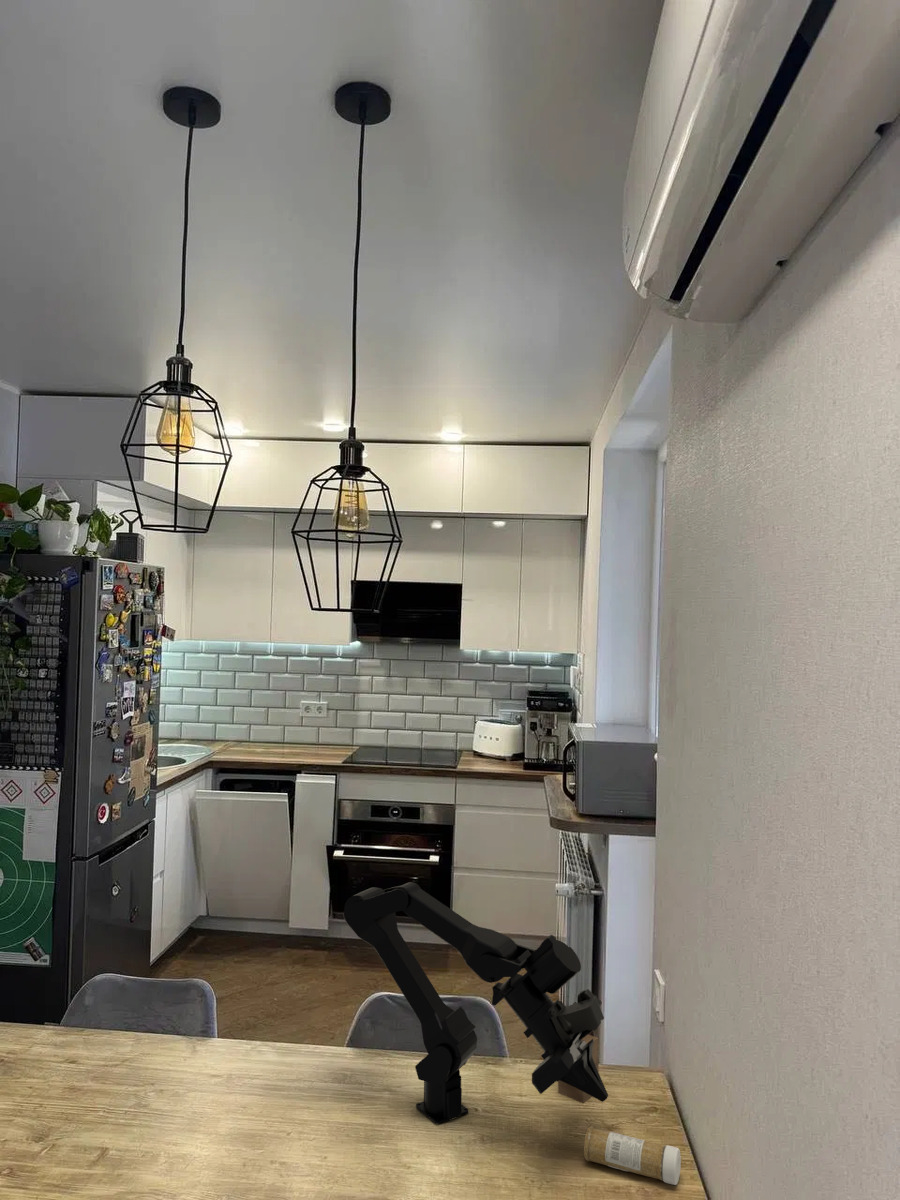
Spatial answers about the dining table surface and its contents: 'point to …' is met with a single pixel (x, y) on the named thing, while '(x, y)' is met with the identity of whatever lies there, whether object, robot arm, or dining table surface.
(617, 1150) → the sprinkles bottle
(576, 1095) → the walnut block
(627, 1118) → the dining table surface
